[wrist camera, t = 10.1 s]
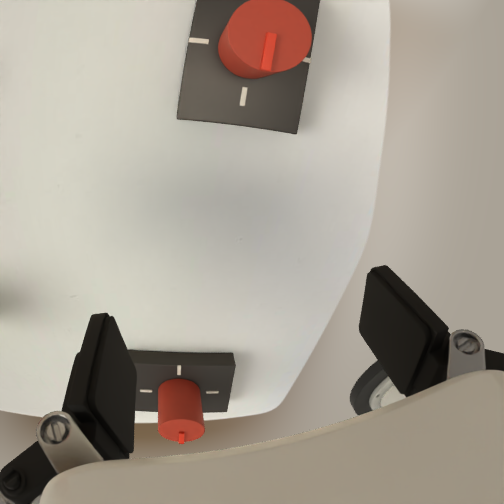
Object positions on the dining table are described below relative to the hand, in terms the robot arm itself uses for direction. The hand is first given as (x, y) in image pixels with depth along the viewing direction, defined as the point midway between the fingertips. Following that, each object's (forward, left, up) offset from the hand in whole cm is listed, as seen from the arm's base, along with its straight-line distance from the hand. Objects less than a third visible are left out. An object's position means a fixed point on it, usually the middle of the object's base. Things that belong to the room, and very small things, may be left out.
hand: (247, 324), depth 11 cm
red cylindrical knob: (-1, -12, -15) cm, 19 cm away
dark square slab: (-1, -12, -17) cm, 20 cm away
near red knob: (+2, +22, -15) cm, 27 cm away
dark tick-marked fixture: (+2, +22, -17) cm, 28 cm away
